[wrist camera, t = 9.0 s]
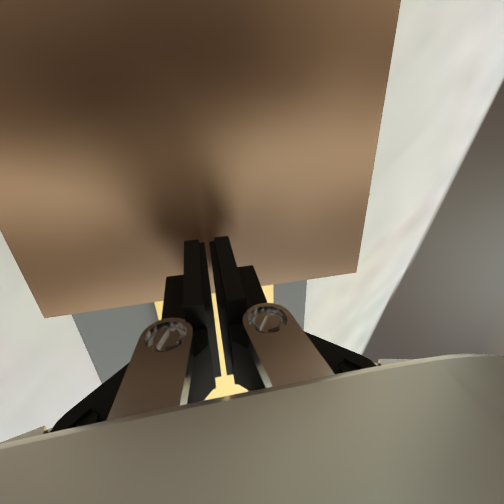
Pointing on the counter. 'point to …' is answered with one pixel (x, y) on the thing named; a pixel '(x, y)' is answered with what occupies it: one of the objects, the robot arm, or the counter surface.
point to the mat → (142, 315)
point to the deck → (186, 139)
